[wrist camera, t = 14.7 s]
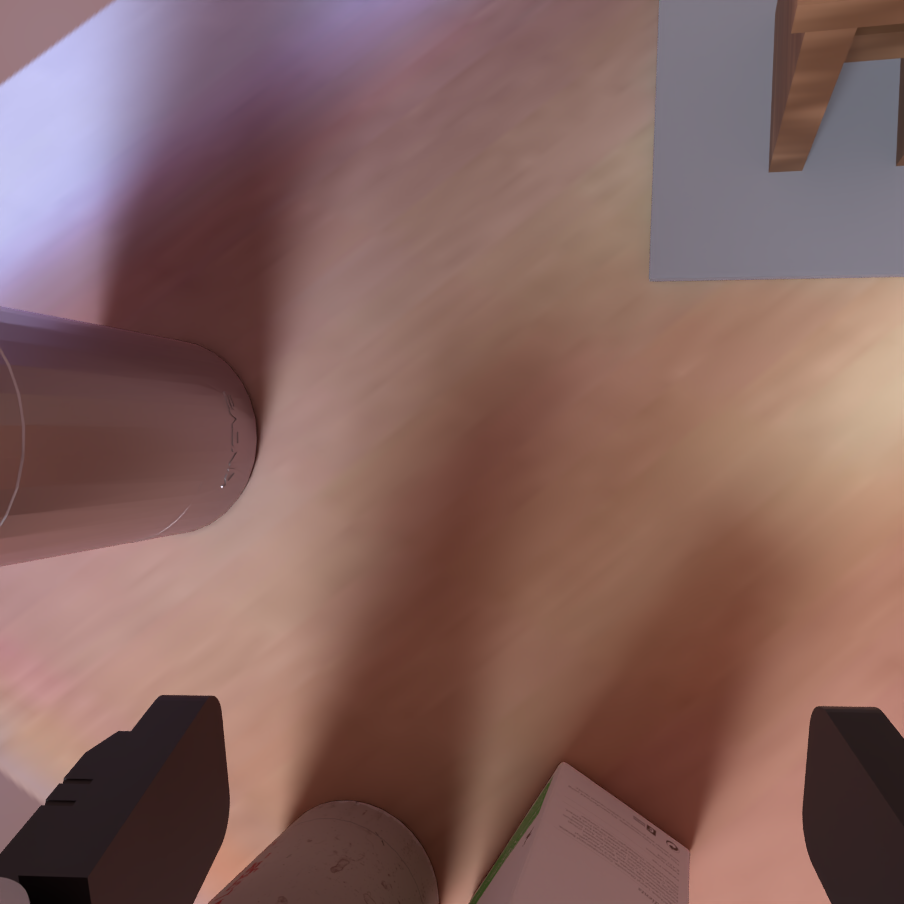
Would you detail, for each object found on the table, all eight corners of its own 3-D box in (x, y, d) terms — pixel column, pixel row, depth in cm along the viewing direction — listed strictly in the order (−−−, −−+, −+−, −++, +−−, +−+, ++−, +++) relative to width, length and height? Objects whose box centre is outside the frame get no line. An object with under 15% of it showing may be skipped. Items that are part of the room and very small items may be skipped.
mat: (649, 281, 34) (649, 278, 34) (662, -71, 34) (661, -80, 33) (1050, 273, 30) (1056, 270, 30) (1069, -124, 30) (1076, -135, 30)
